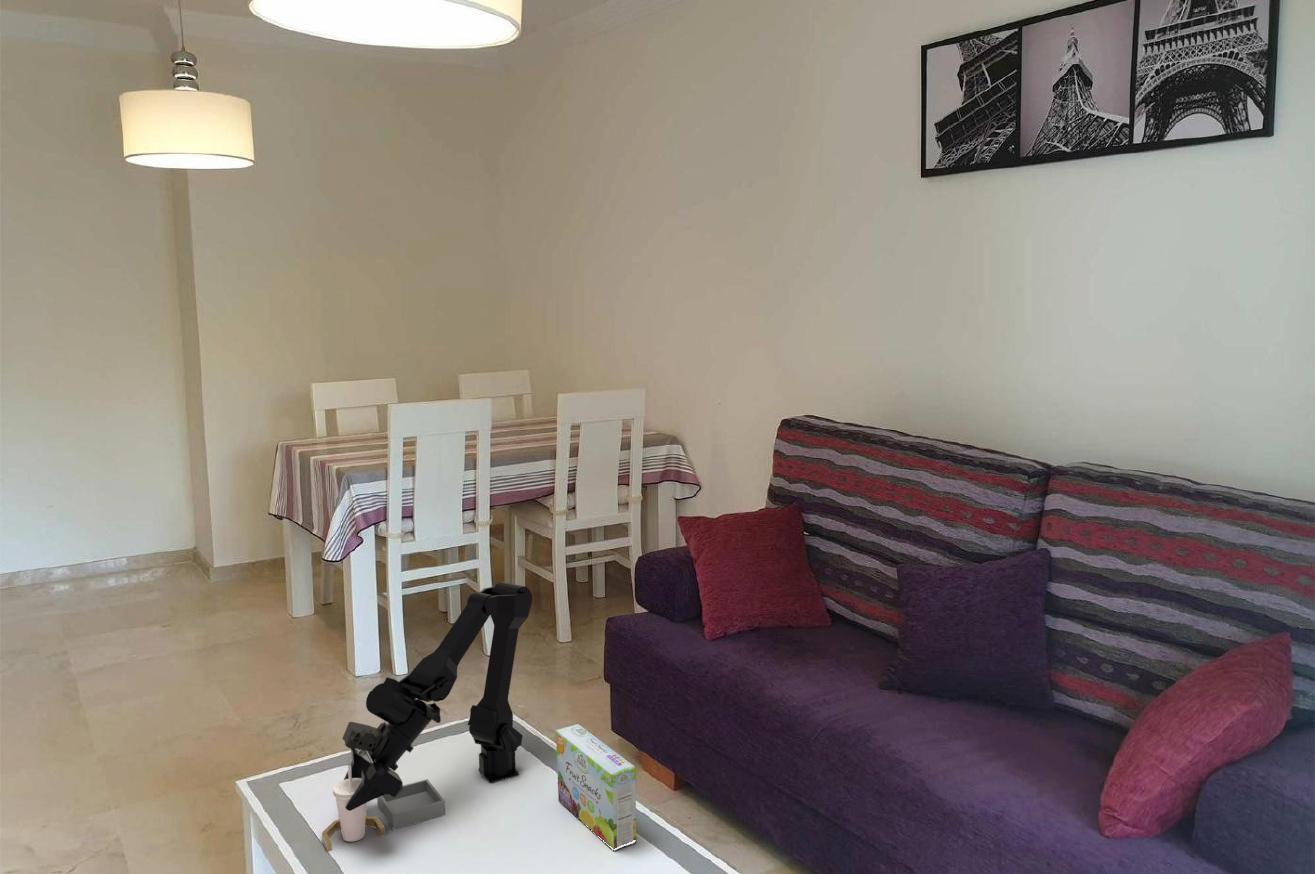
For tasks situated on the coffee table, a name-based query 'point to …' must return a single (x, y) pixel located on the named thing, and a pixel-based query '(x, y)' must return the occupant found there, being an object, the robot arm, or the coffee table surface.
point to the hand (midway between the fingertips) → (343, 800)
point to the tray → (412, 804)
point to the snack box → (596, 785)
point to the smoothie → (355, 818)
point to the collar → (336, 826)
